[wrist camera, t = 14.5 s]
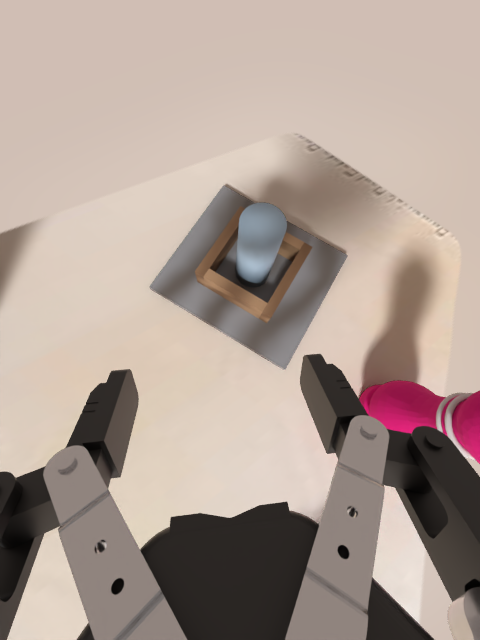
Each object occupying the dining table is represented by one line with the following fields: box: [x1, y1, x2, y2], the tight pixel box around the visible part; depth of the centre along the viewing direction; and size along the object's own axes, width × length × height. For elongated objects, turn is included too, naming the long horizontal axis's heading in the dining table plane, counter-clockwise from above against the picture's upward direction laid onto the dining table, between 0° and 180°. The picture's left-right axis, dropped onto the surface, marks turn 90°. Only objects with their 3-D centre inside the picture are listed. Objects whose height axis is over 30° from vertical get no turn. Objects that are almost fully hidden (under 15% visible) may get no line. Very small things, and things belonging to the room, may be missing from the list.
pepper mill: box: [359, 380, 480, 464], centre depth 25 cm, size 7×7×20 cm
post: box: [235, 203, 287, 287], centre depth 31 cm, size 4×4×11 cm
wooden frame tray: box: [150, 186, 348, 370], centre depth 35 cm, size 20×18×4 cm
